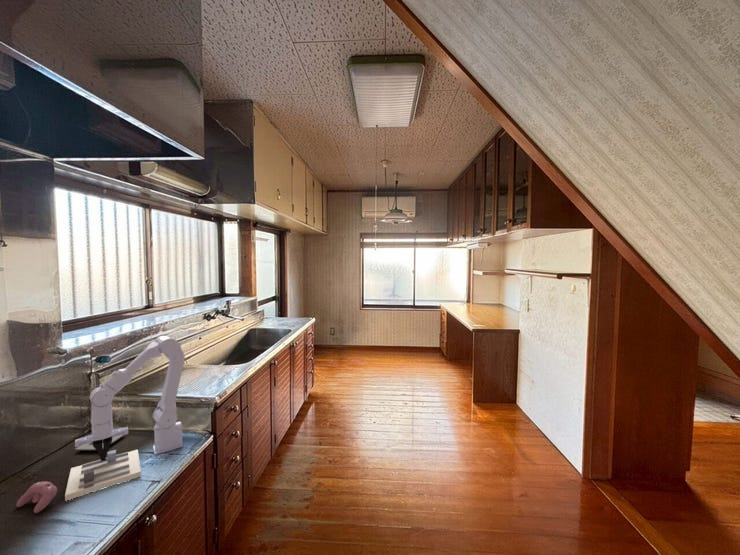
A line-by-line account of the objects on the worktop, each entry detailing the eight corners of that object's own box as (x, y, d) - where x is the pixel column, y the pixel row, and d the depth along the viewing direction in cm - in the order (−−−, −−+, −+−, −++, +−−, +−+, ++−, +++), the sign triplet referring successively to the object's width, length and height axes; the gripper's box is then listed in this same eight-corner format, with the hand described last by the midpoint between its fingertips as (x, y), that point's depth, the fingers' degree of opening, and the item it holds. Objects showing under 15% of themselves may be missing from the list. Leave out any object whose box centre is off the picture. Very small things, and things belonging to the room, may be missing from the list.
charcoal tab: (94, 477, 108) (93, 468, 108) (93, 480, 106) (93, 471, 106) (84, 480, 107) (84, 471, 107) (84, 483, 105) (83, 474, 105)
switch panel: (137, 454, 126) (137, 447, 126) (140, 477, 112) (140, 469, 112) (71, 473, 114) (71, 465, 114) (65, 501, 100) (64, 492, 100)
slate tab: (116, 457, 120) (115, 449, 120) (116, 460, 118) (115, 452, 118) (107, 460, 118) (107, 451, 118) (107, 463, 116) (107, 454, 116)
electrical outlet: (101, 454, 127) (101, 448, 127) (74, 454, 128) (74, 448, 128) (127, 437, 141) (127, 431, 140) (103, 437, 141) (102, 431, 141)
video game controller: (51, 511, 98) (63, 484, 101) (33, 514, 94) (47, 485, 97) (31, 504, 101) (43, 478, 104) (13, 507, 97) (26, 479, 100)
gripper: (127, 412, 124) (128, 447, 124) (75, 423, 115) (77, 462, 115) (127, 418, 118) (129, 455, 118) (74, 431, 109) (75, 471, 110)
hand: (103, 459), depth 116 cm, fingers closed
